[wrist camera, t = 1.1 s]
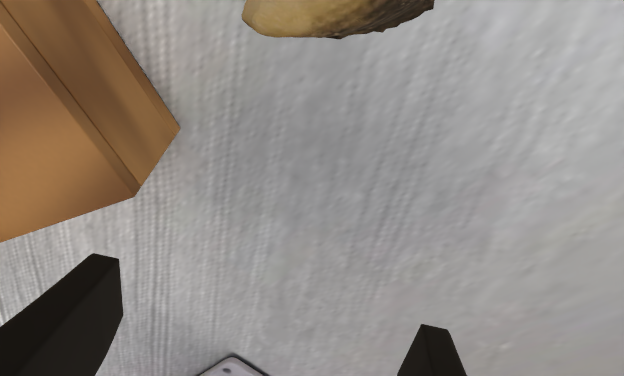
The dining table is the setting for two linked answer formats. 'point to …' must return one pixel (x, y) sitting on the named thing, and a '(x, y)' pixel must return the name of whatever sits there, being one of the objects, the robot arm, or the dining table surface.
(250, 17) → the nut kernel
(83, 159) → the lid
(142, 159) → the box
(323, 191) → the dining table surface
